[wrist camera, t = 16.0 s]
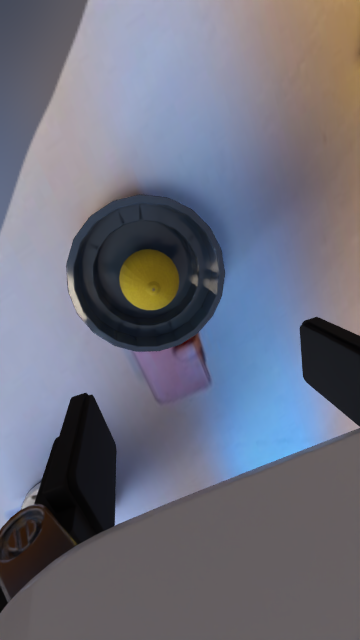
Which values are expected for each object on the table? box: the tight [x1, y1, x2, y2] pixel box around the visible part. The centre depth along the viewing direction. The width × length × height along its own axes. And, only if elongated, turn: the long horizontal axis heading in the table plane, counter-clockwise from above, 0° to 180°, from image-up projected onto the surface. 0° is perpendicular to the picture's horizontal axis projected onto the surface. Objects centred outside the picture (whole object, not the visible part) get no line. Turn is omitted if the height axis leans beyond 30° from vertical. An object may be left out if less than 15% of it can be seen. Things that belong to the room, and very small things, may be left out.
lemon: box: [119, 249, 179, 310], centre depth 24 cm, size 6×6×8 cm
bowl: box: [66, 195, 225, 352], centre depth 26 cm, size 14×14×6 cm
